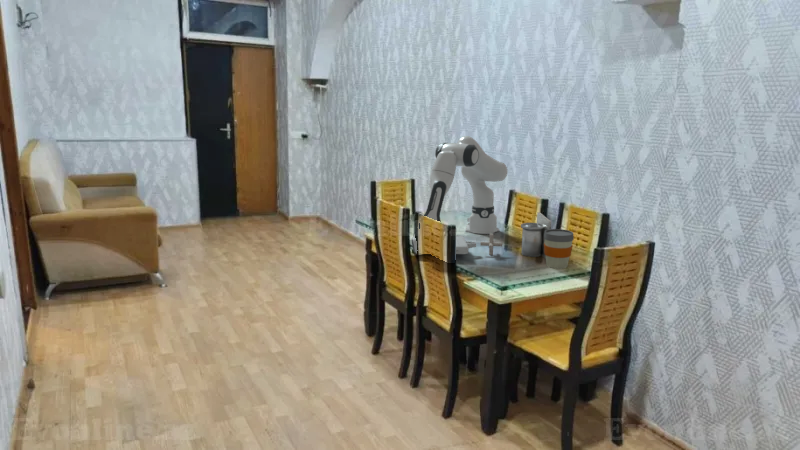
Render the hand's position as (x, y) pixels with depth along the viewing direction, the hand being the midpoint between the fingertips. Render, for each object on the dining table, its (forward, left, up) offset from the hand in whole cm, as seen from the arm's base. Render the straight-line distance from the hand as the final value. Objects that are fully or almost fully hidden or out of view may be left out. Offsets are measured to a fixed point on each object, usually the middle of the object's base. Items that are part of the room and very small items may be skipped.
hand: (475, 244), depth 261 cm
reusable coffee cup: (+18, +33, -5) cm, 38 cm away
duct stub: (0, +26, -5) cm, 27 cm away
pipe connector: (0, +7, -5) cm, 9 cm away
